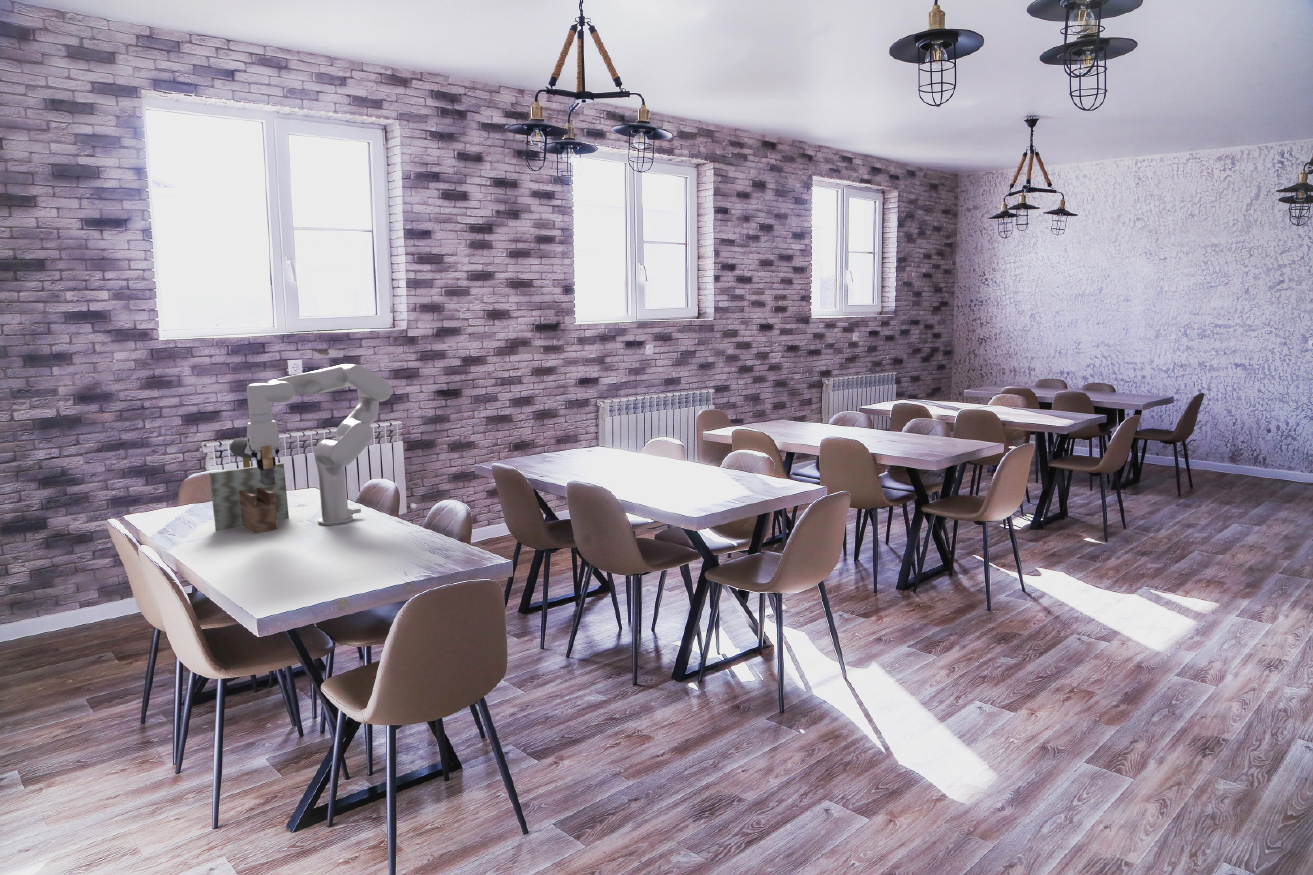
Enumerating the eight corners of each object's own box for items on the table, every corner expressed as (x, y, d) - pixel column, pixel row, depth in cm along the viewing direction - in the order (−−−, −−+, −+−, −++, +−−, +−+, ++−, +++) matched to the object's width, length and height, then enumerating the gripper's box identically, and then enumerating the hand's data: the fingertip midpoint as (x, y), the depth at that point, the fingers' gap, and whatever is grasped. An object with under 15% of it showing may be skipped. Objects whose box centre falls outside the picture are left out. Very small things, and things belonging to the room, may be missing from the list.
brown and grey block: (270, 482, 308) (266, 444, 306) (275, 484, 305) (271, 445, 303) (261, 483, 306) (257, 445, 304) (266, 485, 303) (261, 446, 300)
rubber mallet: (267, 512, 343) (260, 439, 339) (249, 516, 338) (241, 441, 333) (253, 508, 351) (246, 436, 347) (235, 512, 346) (227, 439, 341)
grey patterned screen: (287, 517, 334) (281, 462, 330) (301, 524, 322) (296, 467, 319) (215, 530, 317) (209, 472, 313) (228, 538, 305) (222, 478, 301)
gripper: (281, 414, 310) (286, 464, 313) (233, 420, 299) (239, 471, 302) (288, 416, 304) (293, 466, 307) (240, 421, 294) (245, 473, 297)
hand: (266, 468), depth 305 cm, fingers closed on brown and grey block, 3 cm apart
